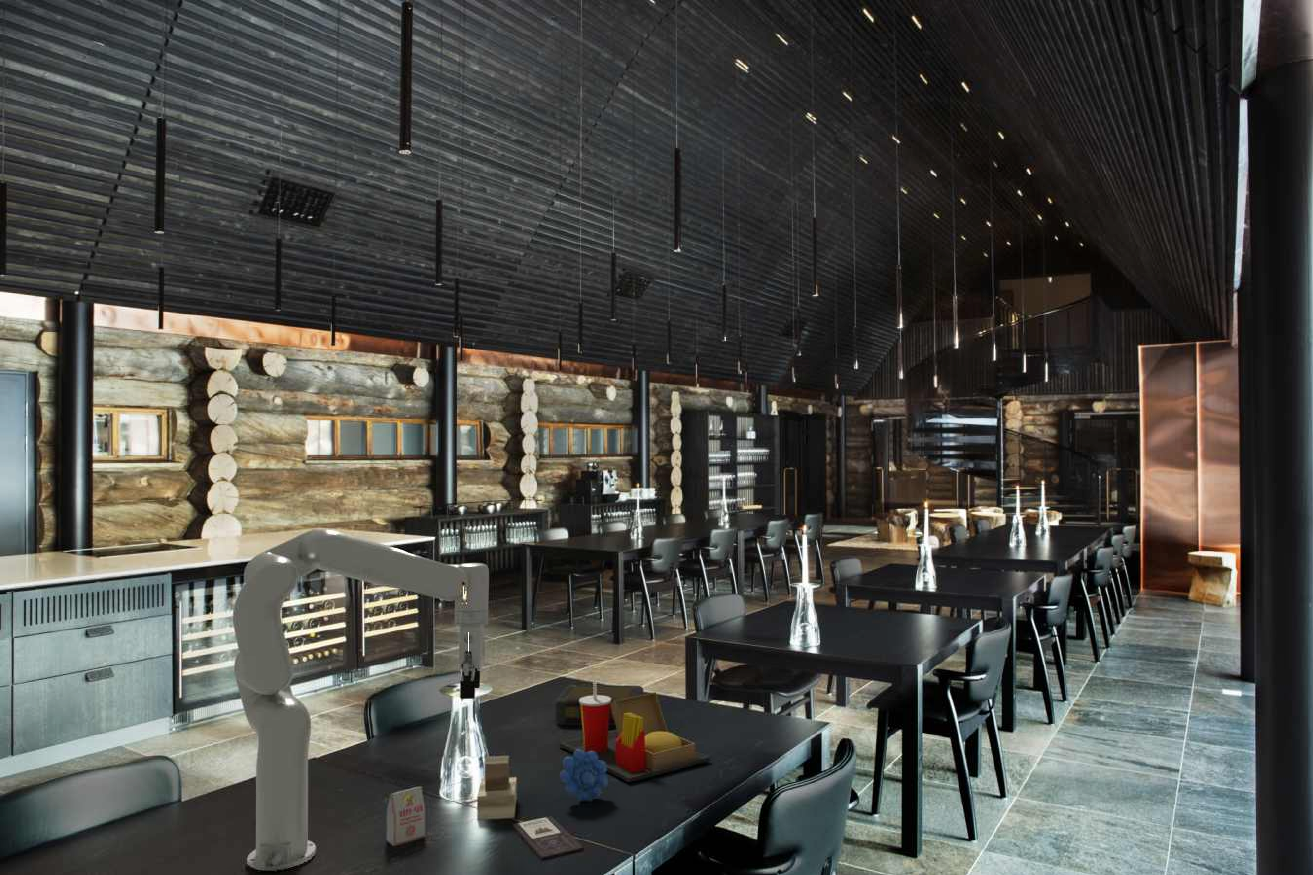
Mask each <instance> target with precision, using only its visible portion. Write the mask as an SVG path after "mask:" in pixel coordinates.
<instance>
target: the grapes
mask: <svg viewBox="0 0 1313 875" xmlns="http://www.w3.org/2000/svg"><path fill="white" fill-rule="evenodd" d="M572 754H573V755H572V756H566V757H565V758H564V759H563V763H562V765H563V767H564V768H565V769H563V770H561V771H560V774H559V778H560V780H561V782H563V783H565V791H566V793H567V795H569V796H577V798H578V800H579V801H581V802H587V801H588V800H589V799H590V797H592V798H593V799H595V798H596V799H598V798H600V796H602V795H601V794H602V789H601V788H605V787H606V786H608V784H609V779H608V776H607V775H606V774H605V773H606V772H607V771H606V770H607V766H606V763H605V762H604V761H600V760H599V761H598V755H597V753H596V752H595V751H589V752H587V754H585V752H584V751H583V750H580V749H577V750H576V751H575V752H574V753H572Z"/></svg>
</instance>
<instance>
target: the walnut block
mask: <svg viewBox="0 0 1313 875" xmlns="http://www.w3.org/2000/svg"><path fill="white" fill-rule="evenodd" d="M509 777H510V756H509V755H496V756H495V755H493V756H486V759H485V764H484V779H485V791H501V790H508V786H509Z"/></svg>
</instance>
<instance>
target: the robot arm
mask: <svg viewBox="0 0 1313 875" xmlns="http://www.w3.org/2000/svg"><path fill="white" fill-rule="evenodd" d="M316 570H319V571H323V572H327V573H331V574H334V575H338V576H343V577H347V578H350V579H354V580H359V581H362V582H366V583H368V584H369V583H370V584H373V585H377V586H382V587H385V588H391V589H398V590H399V589H400V590H405V591H409V592H414V593H415V594H421V595H424V596H428V597H431V598H436V599H439V600H443V601H447V602H450V601H451V602H453V601H454V625H455V626H457V627H459V630H458V631H459V634H458V636H459V637H458V640H459V641H458V668H459V669H460V671H461V674H460V681H459V682H460V685H459V686H460V687H459V698H460V699H461V700H470V699H471V700H474V699H475V698H476V689H479V688H480V686H481V670H482V668H483V667H484V665H485V662H486V657H485V655H486V652H485V651H486V650H485V644H486V643H485V626H486V625H488V624H489V590H490V588H489V587H490V586H489V585H490V580H489V579H490V569H489V567H488V565H487V564H486V563H480V562H469V563H468V562H466V563H460V564H449V563H447V564H446V563H443V562H440V561H437V560H433V559H429V558H425V557H422V556H419V555H417V554H413V553H409V552H407V551H405V550H402V549H399V548H396V547H394V546H390V545H386V544H383V543H379V542H376V541H372V540H369V539H365V538H361V537H358V536H354V535H351V534H348V533H344V532H341V531H337V530H334V529H326V528H314V529H311V530H308V531H305V532H303V533H301V534H299V535H297V536H295V537H293V538H291V539H289V540H287V541H283V542H282V543H281V544H279V545H276V546H274V547H271V548H269V549H267V550H265V551H263V552H260V553H258V554H256V555H255V556H254V557H253V558H251V559H250V560H249V561H248V563H247V564H246V566H245V567H244V570H243V571H244V573H243V577H244V585H243V586H242V587H241V590H240V591H239V593H238V595H237V598H236V600H235V603H234V605H233V612H232V623H233V630H234V634H235V639H236V644H237V648H238V652H237V655H236V657H235V659H234V666H233V668H234V676H235V681H236V685H237V688H238V691H239V696H240V699H241V703H242V706H243V711H244V714H245V717H246V720H247V722H248V725H249V726H250V728H251V729H252V730H253V732H254V733H255V734H256V735H257V738H258V744H257V745H258V746H257V753H256V765H255V766H256V767H255V769H256V770H255V786H256V787H255V788H256V789H255V795H256V796H255V849H254V850H252V851H251V852H250V853H249V854H248V856H247V858H246V865H247V864H248V865H249V866H251V867H253V868H255V869H257V870H275V869H285V868H291V867H294V866H297V865H299V866H301V865H300V864H302V865H303V863H304V862H306V863H307V862H309V861H310V860H312V859H313V858H314V857H315V856H316V854H315V853H317V845H316V843H314V842H313V841H312V840H309V800H308V799H309V749H310V741H311V733H312V719H311V714H310V712H309V710H308V709H307V707H306V705H305V704H304V703H303V702H302V701H300V700H299V699H298V698H296V696H294V695H293V692H292V691H293V690H292V688H291V685H290V684H291V682H292V679H293V676H294V664H293V659H292V657H291V654H290V650H289V647H288V643H287V639H286V637H285V636H286V635H285V632H284V627H283V622H282V614H281V613H282V608H283V605H284V603H285V601H286V600H287V598H288V597H290V595H291V594H292V593H293V592H294V590H295V589H296V587H297V585H298V583H299V580H300V579H301V578H303V577H304V576H307V575H308V574H310V573H312V572H314V571H316ZM462 582H464V583H465V585H466V588H467V604H466V603H465V602H464V601H463V604H462V597H463V588H462V592H461V587H463V586H464V594H465V591H466V589H465V585H462ZM468 632H469V652H468ZM313 856H314V857H313ZM312 857H313V858H312ZM308 860H309V861H308ZM304 864H305V863H304ZM248 865H247V866H248ZM297 867H298V866H297ZM294 868H295V867H294ZM291 869H292V868H291Z"/></svg>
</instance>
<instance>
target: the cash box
mask: <svg viewBox="0 0 1313 875" xmlns="http://www.w3.org/2000/svg"><path fill="white" fill-rule="evenodd" d="M592 695H593V684H569V685H567V686H566V687H565V688H564V689H563V691H561V693H560V694H559V695H558V697H557V698H556V699H555V701H554V702H555V704H554V705H555V707H554V708H555V709H554V711H555V715H554V716H555V719H554V720H555V725H557V726H580V725H582V718H581V706H580V703H579V699H580V698H582V697H586V696H592ZM597 695H601V696H607V697H610V698H611V702H610V703H612V702H613V701H614V700H618V699H623V698H629V697H634V696H639V695H644V687H643V686H641V685H618V684H617V685H613V684H611V685H610V684H608V685H605V684H603V685H601V684H600V685H597ZM608 727H616V725H615V721H614V717H613V714H612V710H611V707H610V710H609V725H608Z"/></svg>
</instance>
